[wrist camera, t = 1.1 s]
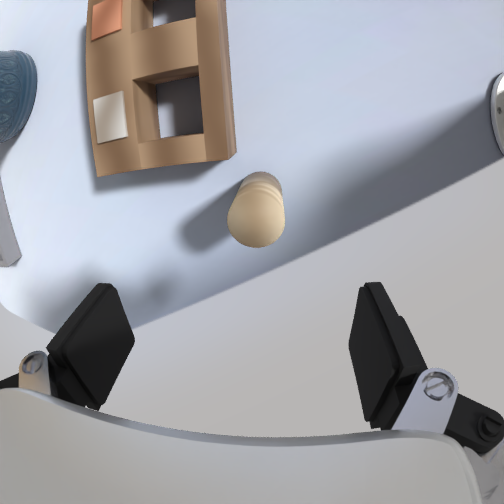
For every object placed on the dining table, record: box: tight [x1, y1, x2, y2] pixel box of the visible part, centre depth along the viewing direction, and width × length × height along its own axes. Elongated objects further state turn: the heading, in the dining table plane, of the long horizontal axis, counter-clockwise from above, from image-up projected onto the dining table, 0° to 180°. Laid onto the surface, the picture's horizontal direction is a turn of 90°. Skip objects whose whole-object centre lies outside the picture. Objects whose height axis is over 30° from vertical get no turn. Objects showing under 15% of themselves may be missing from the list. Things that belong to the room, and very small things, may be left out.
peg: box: [227, 172, 285, 248], centre depth 23 cm, size 4×4×8 cm
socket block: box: [86, 0, 237, 177], centre depth 19 cm, size 12×20×5 cm, turn 4°
